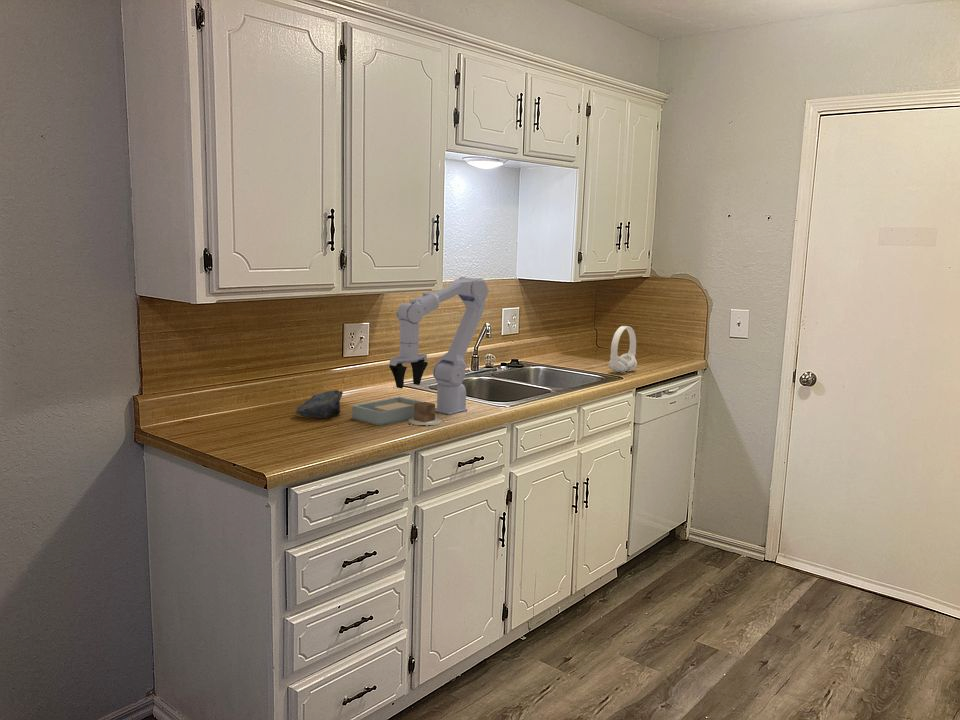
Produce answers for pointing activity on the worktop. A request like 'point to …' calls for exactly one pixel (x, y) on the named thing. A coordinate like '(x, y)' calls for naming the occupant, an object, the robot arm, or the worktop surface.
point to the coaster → (434, 422)
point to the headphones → (625, 360)
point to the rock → (321, 405)
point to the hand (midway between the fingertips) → (408, 386)
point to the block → (424, 411)
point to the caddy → (385, 411)
